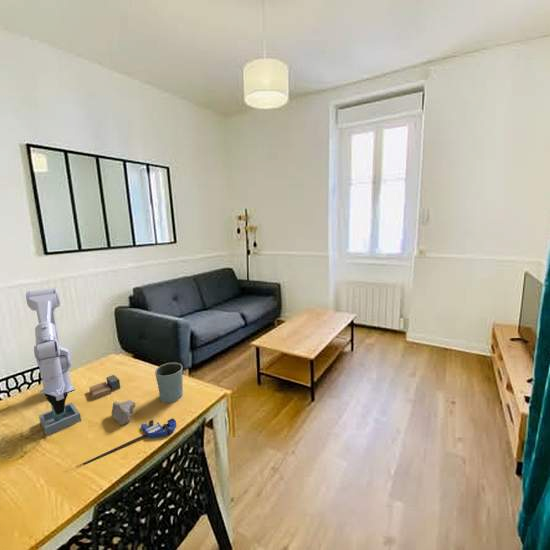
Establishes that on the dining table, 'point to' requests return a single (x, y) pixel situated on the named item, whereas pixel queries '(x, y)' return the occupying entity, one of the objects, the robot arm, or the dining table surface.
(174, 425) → the bar clamp
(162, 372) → the grey green cup
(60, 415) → the dowel
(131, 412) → the stone
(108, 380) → the dark grey block
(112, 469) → the dining table surface
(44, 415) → the tray
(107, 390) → the tan cardboard box
